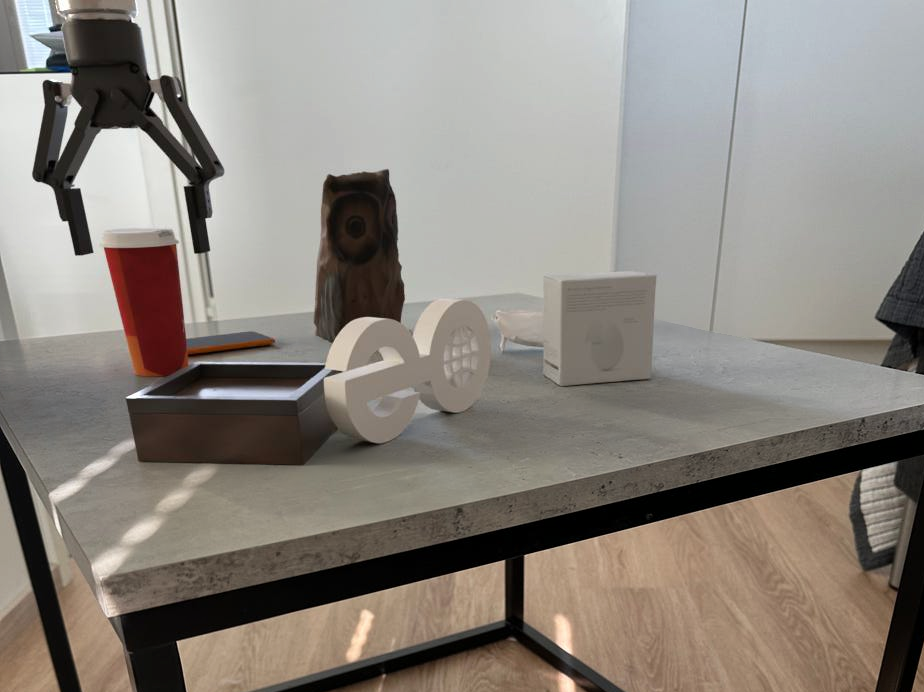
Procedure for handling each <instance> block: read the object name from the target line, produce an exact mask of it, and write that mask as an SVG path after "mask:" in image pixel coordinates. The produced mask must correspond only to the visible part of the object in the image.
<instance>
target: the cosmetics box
mask: <svg viewBox="0 0 924 692" xmlns="http://www.w3.org/2000/svg"><path fill="white" fill-rule="evenodd" d="M657 278H658V277H657V275H656V274H652V273H646V272H641V271H636V270H629V271H626V270H625V271H624V270H623V271H611V272H610V271H609V272H592V273H591V272H590V273H571V274H554V275H544V276H543V313H544V347H542V348H543V351H542V353H543V354H542V355H543V364H542V365H543V366H542V367H543V372H542V373H543V376H545V377H546V378H548V379H550V380H551V381H552V382H554V383H555V384H557V385H558V386H560V387H568V386H576V385H577V386H578V385H588V384H589V385H591V384H600V383H601V384H602V383H614V382H626V381H638V380H639V381H640V380H649V379H652V375H653V374H652V373H653V371H652V370H653V369H652V368H653V347H654V326H655V306H656V305H655V304H656V288H657Z"/></svg>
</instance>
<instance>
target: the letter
mask: <svg viewBox="0 0 924 692" xmlns="http://www.w3.org/2000/svg"><path fill="white" fill-rule="evenodd" d="M490 332H491V331H490V328H489V324H488V320H487V318H486V316H485V314H484V312H483V311H482V309H481V308H480V306H479V305H478V304H476V303H474V302H473V301H471V300H468V299H459V298H448V297H447V298H445V297H444V298H438V299H436V300H434V301H432V302H431V303H429V304H428V305H427V307H425V309H424V310H423V311H422V313H421V314H420V316H419V318H418V320H417V321H416V324H415V326H414V329H413V332H412V333H411V332H410V330H409V329H408V328H407V327H406V326H405V325H404V324H403V323H402V322H401V323H400V322H398V321H396V320H393V319H385V318H375V317H363V318H358V319H355V320H353V321H351V322H349V323H348V324H347V325H346V326H345V327H344V328H343V329H342V330H341V331H340V332H339V334H338V335H337V337H336V338H335V340H334V342H333V343H332V344H331V346H330V349H329V352H328V354H327V357H326V361H325V363H326V365H325V369H331V370H339V371H342V373H339V374H336V375H332V376H329V377H326V378H324V391H325V401H326V406H327V409H328V412H329V414H330V416H331V419H332V421H333V422H334V424H335V425H336V427H337V430H339V431H340V432H341V433H342V434H343V435H344V436H346V437H348V438H350V439H353V440H357V441H361V442H362V441H363V442H368V443H375V444H384V443H387V442H390V441H392V440H394V439H396V438H397V437H399V436H400V435H401V434H402V433H403V432H404V431H405V429H406V428H407V427H408V425H409V424H410V422H411V420H412V418H413V416H414V414H415V412H416V410H417V407H418V404H419V401H420V402H421V403H422V404H423V405H424V406H425V407H427V408H428V409H431V410H435V411H441V412H446V413H447V412H449V413H458V414H459V413H461V412H462V413H463V412H464V411H466V410H468V409H469V408H470V407H471V406H472V405H474V404H475V402H476V401H477V400H478V398H479V397H480V395H481V393H482V392H483V389H484V387H485V385H486V382H487V379H488V375H489V371H490V365H491V359H492V339H491V333H490ZM377 351H378V353H379V354H380V355H381V357H382V359H383V360H379V361H377V362H373V363H369V361H370V359H371V357H372V356H373V355H374V353H376V352H377ZM368 363H369V364H368ZM412 387H413V390H407V389H410V388H412ZM380 398H381V399H380ZM377 399H380V400H379V402H378V403H377V405H376V406H375V407H374V408H373V409H370V408H369V407H368V405H367V403H369V402H372V401H374V400H377Z"/></svg>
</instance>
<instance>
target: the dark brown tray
mask: <svg viewBox="0 0 924 692" xmlns="http://www.w3.org/2000/svg"><path fill="white" fill-rule="evenodd" d="M325 365H326V362H281V361H280V362H279V361H278V362H277V361H276V362H273V361H271V362H268V361H267V362H265V361H264V362H263V361H262V362H261V361H260V362H259V361H193V362H191V363H190V364H188V366H186V367H184V368H182V369H180V370H178V371H176V372H174V373H173V374H171V375H169V376H164V377H163V378H161V379H160V380H158V381H156V382H154V383H152V384H149V385H148V386H145V387H144V388H142V389H140V390H139V391H137V392H135V393H133V394H131V395H129V396H127V397H125V401H126V407H127V412H128V416H129V421H130V427H131V431H132V437H133V441H134V446H135V451H136V457H137V462H146V463H147V462H150V463H151V462H153V463H155V462H156V463H192V464H193V463H195V464H196V463H197V464H198V463H201V464H240V465H241V464H245V465H246V464H247V465H249V464H250V465H288V466H289V465H292V466H293V465H294V466H295V465H296V466H304V465H305V464H306V462H307V461H308V460H309V459H310V458H312V456H313V455H314V454H315V453H316V452H317V451H318V450H319V449H320V448H321V447H322V446H323V444H324V443H326V441H327V440H328V439H329V438H330V437H331V436H332V435H333V434H334V433H335V432H336V431H337V430H338V428H337V427H336V425H335V424H334V422H333V421H332V419H331V416H330V414H329V412H328V409H327V406H326V401H325V391H324V378H326V377H329V376H332V375H336V374H339V373H342V372H343V371H339V370H331V369H325Z"/></svg>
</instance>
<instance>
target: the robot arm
mask: <svg viewBox="0 0 924 692" xmlns="http://www.w3.org/2000/svg"><path fill="white" fill-rule="evenodd" d="M54 2H55V7H56V12H57V14H58V15H59V16H60V17H61V18H64V19H65V22H63V23H62V25H61V27H60V30H61V36H62V40H63V47H64V51H65V55H66V60H67V64H68V66H69V69H70V72H71V79H70V83H67V82H63V81H60V80H54V79H45V80H43V81H42V86H41V87H42V93H43V102H44V108H43V113H42V117H41V118H42V119H41V122H40V123H41V124H40V129H39V135H38V139H37V145H36V151H35V156H34V161H33V167H32V171H31V172H32V173H31V176H32V179H33V180H34V181H35V182H36V183H41V184H45V185H47V186H49V187H50V188H51V189H52V190H53V193H54V198H55V201H56V206H57V210H58V215H59V218H60V220H61V222H62V223H63V222H64V223H65V222H67V224H68V229H69V233H70V238H71V242H72V247H73V252H74V256H77V257H79V256H81V257H82V256H86V255H91V254H94V252H95V251H94V248H93V243H92V239H91V232H90V228H89V223H88V219H87V213H86V209H85V204H84V198H83V195H82V189H81V187H75V186H76V185H75V184H74V181H75V179H76V178H77V175H78V173H79V171H80V170H81V168H82V165H83V163H84V161H85V159H86V157H87V155H88V153H89V151H90V149H91V147H92V145H93V143H94V141H95V139H96V137H97V135H98V134H100V133H101V131H102V130H118V129H139V130H141V131H143V132H144V133H145V134H147V135H148V137H149V138H150V139H151V140H152V141H153V142H154V143H155V144H156V146H157V147H158V148H160V150H161V151H162V152H163V153H164V155H166V157H167V158H168V159H169V160H170V161H171V163H173V165H175V167H176V168H177V169H178V170H179V171H180V172H181V173H182V175H184V176H185V178H186V179H187V180H188V184H189V185H183V192H184V198H185V199H184V200H185V202H186V203H185V205H186V210H187V217H188V224H189V229H190V234H191V242H192V248H193V254H195V255H197V254H199V255H201V254H204V253H208V252H211V245H210V240H209V238H210V237H209V232H208V226H207V219H212V217H213V213H214V212H213V206H212V200H211V194H210V193H211V192H210V184H211V182H212V181H214V180H216V179H218V178H222V177H224V175H225V168H224V166H223V164H222V162H221V161H220V159H219V157H218V155H217V153H216V152H215V150H214V148H213V147H212V145H211V143H210V141H209V139H208V138H207V136H206V135H205V133H204V130H203V129H202V128H201V126H200V124H199V122H198V120H197V119H196V117H195V115H194V114H193V112H192V110H191V108H190V107H189V105H188V103H187V101H186V98H185V95H184V90H183V86H182V82H181V80H180V78H179V77H177V76H175V75H174V76H173V75H168V74H163V75H161V76H160V77H159V78H155V79H151V77H150V75H149V72H148V61H147V56H146V50H145V44H144V37H143V32H142V28H141V27H140V25H139V24H138V23H136V22H134V19H136V17H137V16H138V15H139V9H138V5H137V0H54ZM155 95H157V96H158V98H159V100H160V101H161V102H163V103H164V104H165V106H166V108H167V110H168V112H169V114H170V116H171V117H172V119H173V120H174V122H175V124H176V126H177V127H178V129H179V131H180V132H181V134H182V135H183V138H184V139H185V141H186V142H187V144H188V146H189V148H190V150H191V152H192V153H193V155H194V156H195V158H196V159H195V158H194V157H193V156H192V155H191V153H190V152H189V151H188V150H187V149H186V148H185V147H184V146H183V145H182V143H181V142H180V141H179V140H178V139H177V138H176V137H175V136H174V134H173V133H172V132H171V131H170V130H169V129H168V127H166V125H165V124H164V121H163V120H162V119H161V117H159V115H158V114H157V113H156V112H155V111H154V110H153V109H152V108H151V106H152V103H153V100H154V97H155ZM72 99H74V100H75V102H76V103H77V104H78V105H79V106H80V110H79V112H78V114H77V116H76V117H75V121H74V123H73V125H74V127H73V129H72V132H71V134H70V136H69V138H68V140H67V142H66V144H65V147H64V149H63V151H62V152H61V148H62V144H63V139H64V133H65V129H66V124H67V118H68V111H69V106H70V105H71V103H72V101H73V100H72ZM60 153H61V155H60Z"/></svg>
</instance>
